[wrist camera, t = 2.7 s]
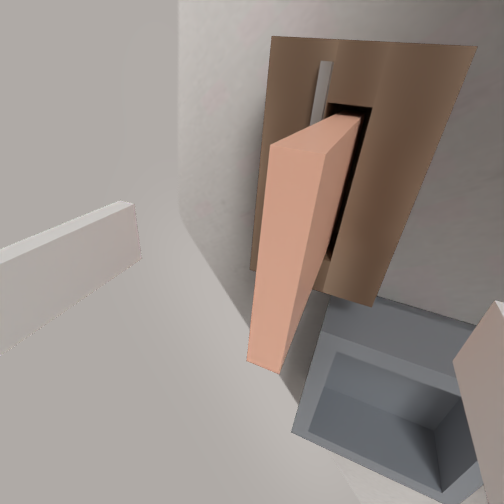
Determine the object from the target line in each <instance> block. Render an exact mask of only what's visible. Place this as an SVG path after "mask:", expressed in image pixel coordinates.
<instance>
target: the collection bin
mask: <svg viewBox="0 0 504 504" xmlns="http://www.w3.org/2000/svg"><path fill="white" fill-rule="evenodd" d="M475 328H476V325H472V324H469V323H466V322H462V321H459V320H456V319H452V318H449V317H445V316H442V315H439V314H435V313H432V312H429V311H425V310H422V309H419V308H415V307H412V306H409V305H405V304H402V303H398V302H395V301H392V300H388V299H385V298H382V297H378V296H376V298H375V301H374V303H373V306H372V308H371V307H368V306H365V305H362V304H358V303H355V302H352V301H349V300H345V299H342V298H339V297H336V296H333V295H331V297H330V300H329V304H328V307H327V310H326V314H325V317H324V321H323V324H322V327H321V331H320V334H319V337H318V341H317V344H316V348H315V351H314V354H313V358H312V361H311V364H310V368H309V371H308V375H307V378H306V381H305V385H304V388H303V392H302V396H301V399H300V403H299V406H298V410H297V413H296V417H295V420H294V424H293V427H292V431H291V432H292V433H294V434H296V435H298V436H300V437H302V438H304V439H306V440H309V441H311V442H313V443H315V444H317V445H319V446H321V447H323V448H326V449H328V450H330V451H332V452H334V453H336V454H338V455H340V456H343V457H345V458H347V459H349V460H351V461H353V462H355V463H358V464H360V465H362V466H364V467H366V468H368V469H370V470H372V471H375V472H377V473H379V474H381V475H383V476H385V477H387V478H389V479H392V480H394V481H396V482H398V483H400V484H402V485H404V486H407V487H409V488H411V489H413V490H415V491H417V492H419V493H421V494H424V495H426V496H428V497H430V498H432V499H434V500H436V501H438V502H441V503H443V504H460V503H461V502H463V501H464V500H465V499H466V498H467V497H469V496H470V495H471V494H472V493H474V492H475V491H476V490H477V489H478V488H480V487H481V486H482V485H483V480H482V476H481V472H480V468H479V464H478V460H477V456H476V452H475V448H474V444H473V440H472V437H471V433H470V429H469V425H468V421H467V417H466V413H465V409H464V405H463V401H462V397H461V393H460V389H459V385H458V381H457V378H456V374H455V370H454V366H453V362H452V361H453V360H454V358H455V357H456V355H457V354H458V352H459V351H460V349H461V348H462V347H463V345H464V344H465V342H466V341H467V339H468V338H469V336H470V335H471V334H472V332H473V331H474V329H475Z"/></svg>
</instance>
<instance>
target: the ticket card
mask: <svg viewBox="0 0 504 504" xmlns="http://www.w3.org/2000/svg"><path fill="white" fill-rule="evenodd" d="M365 114H366V112H358V111H350V110H343V111H341V112H339V113H336V114H334V115H332V116H330V117H328V118H326V119H324V120H322V121H320V122H317V123H315V124H313V125H311V126H309V127H307V128H305V129H303V130H300V131H298V132H296V133H294V134H292V135H290V136H288V137H286V138H283V139H281V140H279V141H277V142H275V143H273V144H271V145H270V151H269V160H268V169H267V178H266V188H265V197H264V206H263V215H262V224H261V233H260V242H259V252H258V261H257V270H256V279H255V288H254V297H253V306H252V315H251V325H250V334H249V343H248V352H247V361H248V362H250V363H253V364H255V365H258V366H260V367H263V368H265V369H268V370H270V371H272V372H275V373H277V374H279V373H280V371H281V368H282V366H283V363H284V360H285V358H286V355H287V353H288V350H289V347H290V345H291V342H292V340H293V337H294V334H295V332H296V329H297V326H298V324H299V321H300V319H301V316H302V313H303V311H304V308H305V306H306V303H307V300H308V298H309V295H310V293H311V290H312V287H313V285H314V282H315V279H316V277H317V274H318V272H319V269H320V266H321V264H322V261H323V259H324V256H325V253H326V251H327V248H328V246H329V243H330V240H331V238H332V235H333V232H334V230H335V227H336V224H337V220H338V216H339V212H340V209H341V205H342V201H343V197H344V193H345V190H346V186H347V182H348V178H349V174H350V171H351V167H352V163H353V159H354V155H355V152H356V148H357V144H358V140H359V137H360V133H361V129H362V125H363V121H364V118H365Z"/></svg>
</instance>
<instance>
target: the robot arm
mask: <svg viewBox="0 0 504 504" xmlns="http://www.w3.org/2000/svg"><path fill="white" fill-rule="evenodd" d="M140 259H142V256H141V249H140V242H139V235H138V228H137V220H136V213H135V206H134V204H132V203H128V202H125V201H121V200H119V201H117V202H115V203H112V204H110V205H107V206H105V207H102V208H100V209H97V210H95V211H92V212H90V213H87V214H85V215H83V216H80V217H78V218H75V219H73V220H70V221H68V222H65V223H63V224H61V225H58V226H56V227H53V228H51V229H48V230H46V231H44V232H41V233H38V234H36V235H34V236H31V237H29V238H26V239H24V240H22V241H19V242H16V243H14V244H12V245H9V246H7V247H4V248H2V249H0V356H1V355H2V354H4V353H5V352H7V351H8V350H10V349H11V348H12V347H14V346H15V345H17V344H18V343H20V342H21V341H23V340H24V339H26V338H27V337H28V336H30V335H31V334H33V333H34V332H36V331H37V330H39V329H40V328H42V327H43V326H45V325H46V324H47V323H49V322H50V321H51V320H53V319H55V318H56V317H57V316H59V315H61V314H62V313H63V312H65V311H66V310H68V309H69V308H71V307H72V306H74V305H75V304H77V303H78V302H79V301H81V300H82V299H84V298H85V297H87V296H88V295H90V294H91V293H93V292H94V291H95V290H97V289H98V288H100V287H101V286H103V285H104V284H106V283H107V282H109V281H110V280H111V279H113V278H114V277H116V276H117V275H119V274H120V273H122V272H123V271H124V270H126V269H127V268H129V267H130V266H132V265H133V264H135V263H136V262H138V261H139V260H140ZM452 362H453V366H454V370H455V374H456V378H457V381H458V385H459V389H460V393H461V397H462V401H463V405H464V409H465V413H466V417H467V421H468V425H469V429H470V433H471V437H472V440H473V444H474V448H475V452H476V456H477V460H478V464H479V468H480V472H481V476H482V480H483V484H484V488H485V492H486V496H487V499H488V503H489V504H504V302H500V301H496V300H494V302H493V303H492V305H491V306H490V307H489V309H488V310H487V312H486V313H485V315H484V316H483V318H482V319H481V321H480V322H479V323H478V325H477V326H476V328H475V329H474V331H473V332H472V334H471V335H470V336H469V338H468V339H467V341H466V342H465V344H464V345H463V347H462V348H461V349H460V351H459V352H458V354H457V355H456V357H455V358H454V360H453V361H452Z"/></svg>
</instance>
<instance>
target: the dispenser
mask: <svg viewBox="0 0 504 504" xmlns="http://www.w3.org/2000/svg"><path fill="white" fill-rule="evenodd" d="M477 47H478V46H460V45H440V44H420V43H400V42H380V41H360V40H340V39H320V38H300V37H281V36H272V38H271V48H270V59H269V70H268V80H267V91H266V102H265V112H264V123H263V134H262V144H261V155H260V165H259V176H258V187H257V197H256V208H255V219H254V229H253V240H252V251H251V261H250V270H252V271H255V272H256V270H257V261H258V252H259V242H260V233H261V224H262V215H263V206H264V197H265V188H266V178H267V169H268V160H269V151H270V145H271V144H273V143H275V142H277V141H279V140H281V139H283V138H286V137H288V136H290V135H292V134H294V133H296V132H298V131H300V130H303V129H305V128H307V127H309V126H311V125H313V124H315V123H317V122H320V121H322V120H324V119H326V118H328V117H330V116H332V115H334V114H336V113H339V112H341V111H343V110H350V111H358V112H366V114H365V118H364V121H363V125H362V129H361V133H360V137H359V140H358V144H357V148H356V152H355V155H354V159H353V163H352V167H351V171H350V174H349V178H348V182H347V186H346V190H345V193H344V197H343V201H342V205H341V209H340V212H339V216H338V220H337V224H336V227H335V230H334V232H333V235H332V238H331V240H330V243H329V246H328V248H327V251H326V253H325V256H324V259H323V261H322V264H321V266H320V269H319V272H318V274H317V277H316V279H315V282H314V285H313V287H312V289H313V290H316V291H320V292H323V293H326V294H329V295H333V296H336V297H339V298H342V299H345V300H349V301H352V302H355V303H358V304H362V305H365V306H368V307H371V308H372V306H373V303H374V301H375V298H376V296H377V293H378V291H379V288H380V286H381V283H382V281H383V279H384V276H385V274H386V271H387V269H388V266H389V264H390V261H391V259H392V256H393V254H394V251H395V249H396V247H397V244H398V242H399V239H400V237H401V234H402V232H403V229H404V227H405V224H406V222H407V219H408V217H409V215H410V212H411V210H412V207H413V205H414V202H415V200H416V197H417V195H418V192H419V190H420V187H421V185H422V183H423V180H424V178H425V175H426V173H427V170H428V168H429V165H430V163H431V160H432V158H433V155H434V153H435V151H436V148H437V146H438V143H439V141H440V138H441V136H442V133H443V131H444V128H445V126H446V123H447V121H448V119H449V116H450V114H451V111H452V109H453V106H454V104H455V101H456V99H457V96H458V94H459V91H460V89H461V87H462V84H463V82H464V79H465V77H466V74H467V72H468V69H469V67H470V64H471V62H472V59H473V57H474V55H475V52H476V50H477Z"/></svg>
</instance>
